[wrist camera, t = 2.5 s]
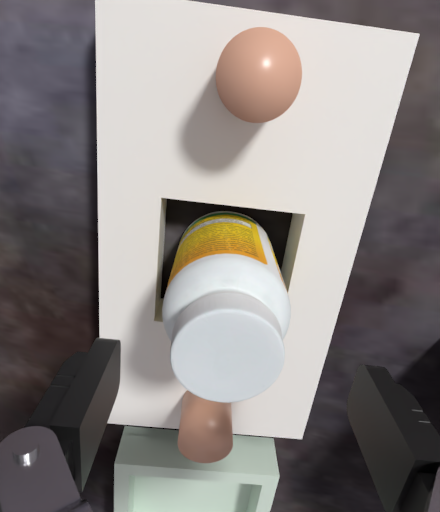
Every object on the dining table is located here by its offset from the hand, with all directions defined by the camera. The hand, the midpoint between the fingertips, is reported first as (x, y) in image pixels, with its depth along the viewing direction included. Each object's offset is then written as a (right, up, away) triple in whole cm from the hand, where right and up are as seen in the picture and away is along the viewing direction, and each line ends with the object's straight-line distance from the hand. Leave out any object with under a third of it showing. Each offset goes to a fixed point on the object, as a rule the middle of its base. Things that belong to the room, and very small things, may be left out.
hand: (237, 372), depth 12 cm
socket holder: (0, +4, +9) cm, 10 cm away
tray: (-3, -14, +17) cm, 22 cm away
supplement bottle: (0, +4, +9) cm, 10 cm away
